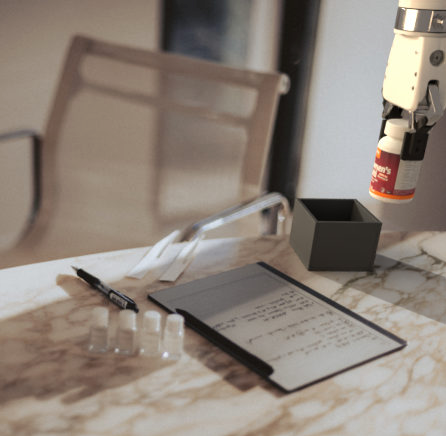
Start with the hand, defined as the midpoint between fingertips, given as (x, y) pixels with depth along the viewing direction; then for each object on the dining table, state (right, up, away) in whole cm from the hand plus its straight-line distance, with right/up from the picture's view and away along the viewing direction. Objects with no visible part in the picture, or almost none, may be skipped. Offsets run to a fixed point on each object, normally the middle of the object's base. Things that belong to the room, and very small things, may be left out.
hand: (399, 151), depth 90 cm
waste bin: (-4, -16, +17) cm, 24 cm away
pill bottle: (0, -7, +3) cm, 7 cm away
